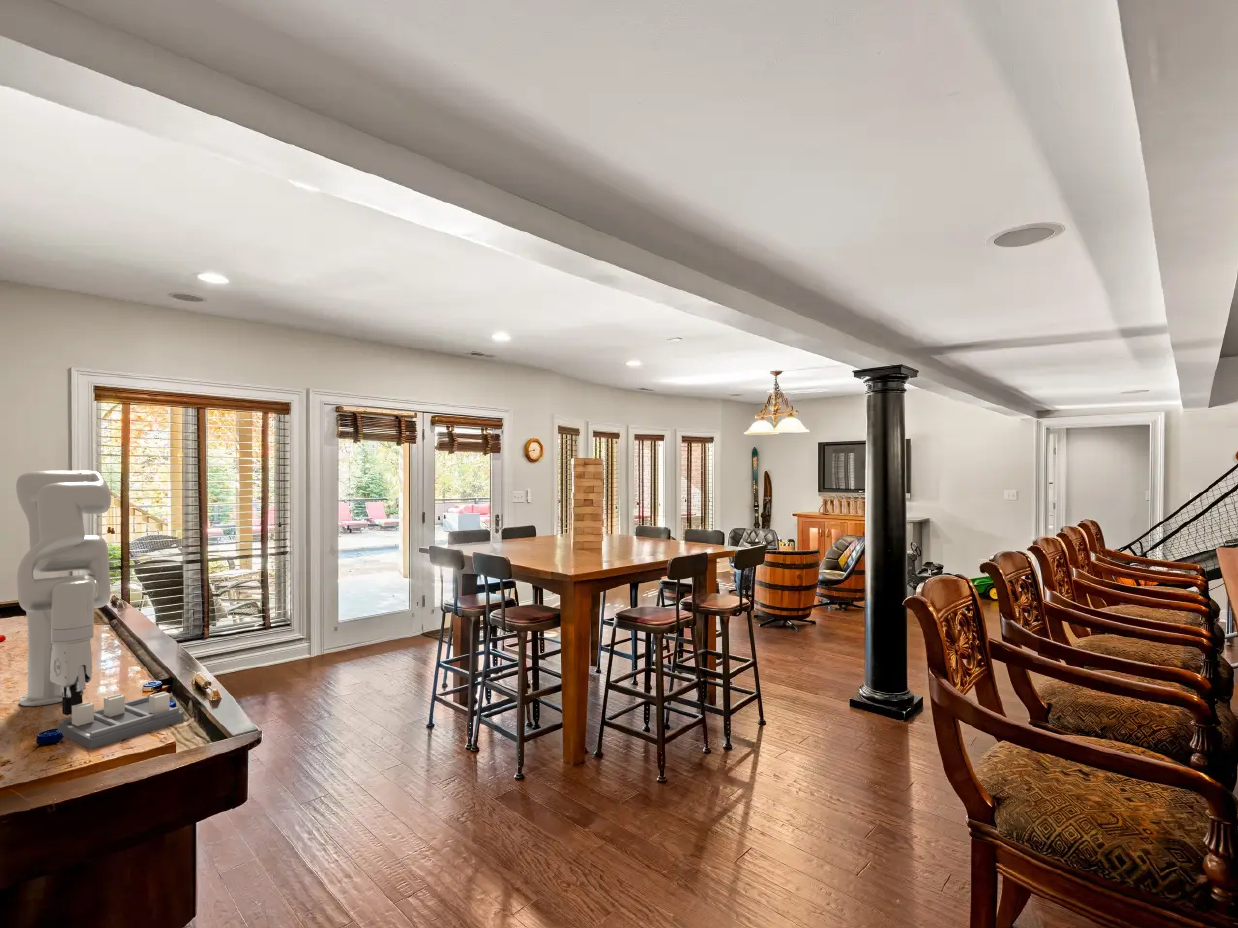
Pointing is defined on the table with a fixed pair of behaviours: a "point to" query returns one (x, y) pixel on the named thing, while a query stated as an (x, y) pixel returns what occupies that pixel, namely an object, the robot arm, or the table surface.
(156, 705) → the tab
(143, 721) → the switch bank
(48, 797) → the table surface
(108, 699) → the tab
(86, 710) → the tab
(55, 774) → the table surface
